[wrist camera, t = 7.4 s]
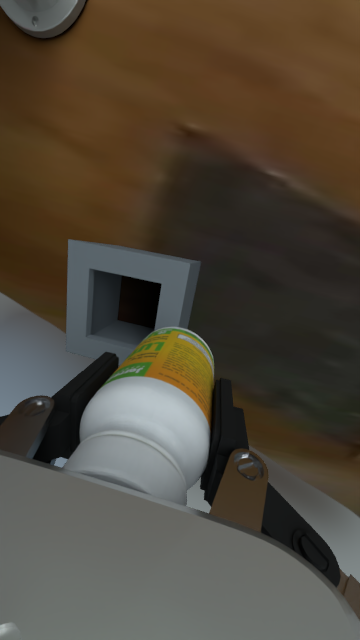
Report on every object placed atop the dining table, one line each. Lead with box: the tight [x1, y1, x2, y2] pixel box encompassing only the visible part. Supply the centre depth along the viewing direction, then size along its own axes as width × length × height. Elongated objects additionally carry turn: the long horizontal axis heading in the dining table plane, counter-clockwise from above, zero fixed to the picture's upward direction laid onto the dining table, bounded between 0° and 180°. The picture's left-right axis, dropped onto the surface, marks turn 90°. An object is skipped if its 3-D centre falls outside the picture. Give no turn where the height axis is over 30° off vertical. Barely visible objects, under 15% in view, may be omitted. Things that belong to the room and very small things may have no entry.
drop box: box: [66, 239, 201, 366], centre depth 27 cm, size 12×12×11 cm
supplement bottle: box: [62, 327, 214, 506], centre depth 10 cm, size 5×5×10 cm
